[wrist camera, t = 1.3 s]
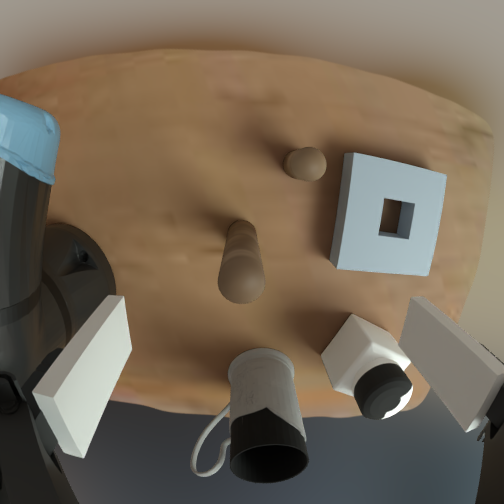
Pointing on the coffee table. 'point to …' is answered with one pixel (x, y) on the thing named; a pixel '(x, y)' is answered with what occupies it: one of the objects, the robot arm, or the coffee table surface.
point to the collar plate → (370, 211)
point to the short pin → (305, 164)
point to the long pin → (241, 265)
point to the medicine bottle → (368, 368)
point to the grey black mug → (261, 420)
